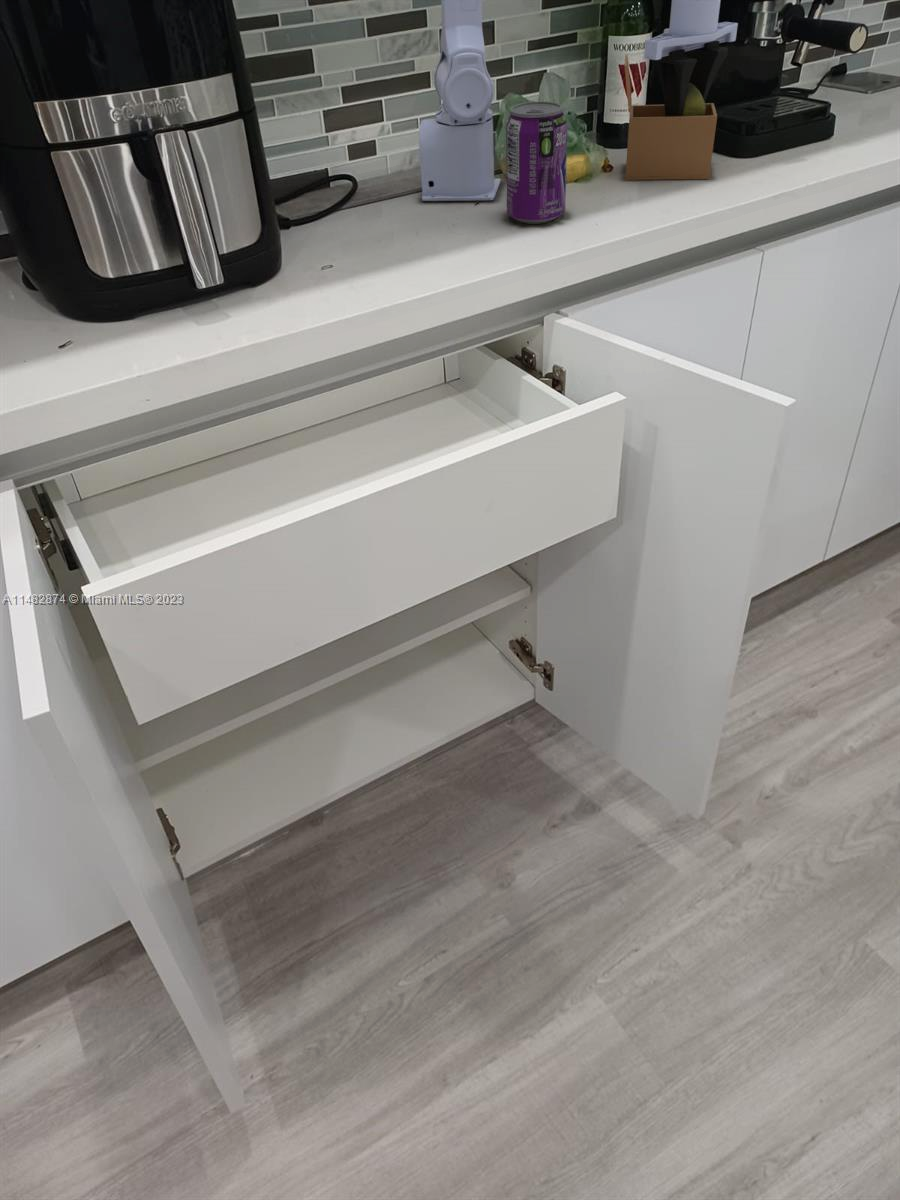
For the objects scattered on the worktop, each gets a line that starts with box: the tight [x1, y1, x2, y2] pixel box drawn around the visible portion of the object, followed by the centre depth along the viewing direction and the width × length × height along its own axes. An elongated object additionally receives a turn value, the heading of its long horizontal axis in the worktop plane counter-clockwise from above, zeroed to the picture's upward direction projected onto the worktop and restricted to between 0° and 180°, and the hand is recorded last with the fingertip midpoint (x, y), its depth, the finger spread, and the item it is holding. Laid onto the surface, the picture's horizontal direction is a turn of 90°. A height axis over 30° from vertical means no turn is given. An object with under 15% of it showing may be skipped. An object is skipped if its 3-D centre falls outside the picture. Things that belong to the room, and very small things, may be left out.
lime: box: [682, 83, 706, 116], centre depth 112 cm, size 4×5×5 cm
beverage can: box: [505, 100, 568, 225], centre depth 103 cm, size 7×7×12 cm
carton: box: [624, 102, 718, 181], centre depth 115 cm, size 11×7×7 cm, turn 81°
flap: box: [624, 54, 633, 114], centre depth 111 cm, size 5×7×1 cm
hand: (683, 115), depth 113 cm, fingers closed on lime, 3 cm apart
